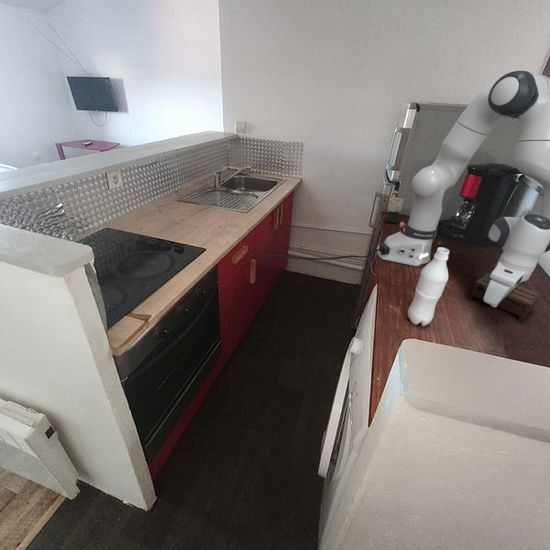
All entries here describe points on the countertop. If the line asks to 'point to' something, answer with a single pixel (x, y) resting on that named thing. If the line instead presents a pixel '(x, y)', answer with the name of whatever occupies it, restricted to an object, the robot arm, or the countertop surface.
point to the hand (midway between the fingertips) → (494, 305)
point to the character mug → (394, 209)
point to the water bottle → (429, 288)
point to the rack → (509, 297)
